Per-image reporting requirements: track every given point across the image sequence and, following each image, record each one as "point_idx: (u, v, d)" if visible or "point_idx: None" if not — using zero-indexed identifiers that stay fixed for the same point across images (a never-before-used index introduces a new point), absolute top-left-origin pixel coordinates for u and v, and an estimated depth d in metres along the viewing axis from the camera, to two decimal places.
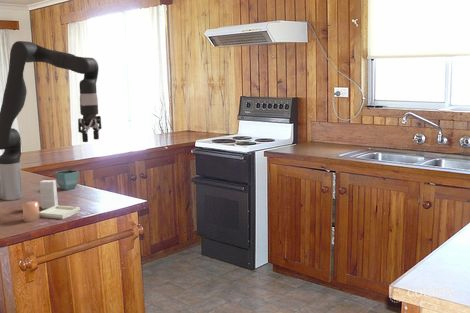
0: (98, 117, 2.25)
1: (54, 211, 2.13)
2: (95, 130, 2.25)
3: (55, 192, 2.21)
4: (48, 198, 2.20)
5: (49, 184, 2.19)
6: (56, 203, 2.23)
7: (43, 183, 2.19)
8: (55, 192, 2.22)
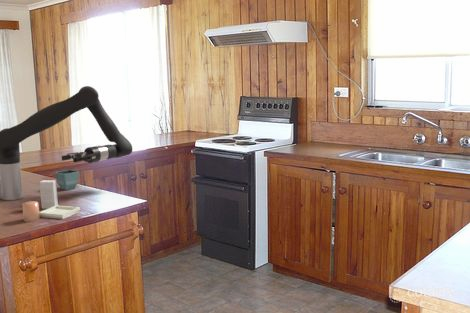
0: None
1: (54, 211, 2.13)
2: (69, 156, 2.34)
3: (55, 192, 2.21)
4: (48, 198, 2.20)
5: (49, 184, 2.19)
6: (56, 203, 2.23)
7: (43, 183, 2.19)
8: (55, 192, 2.22)
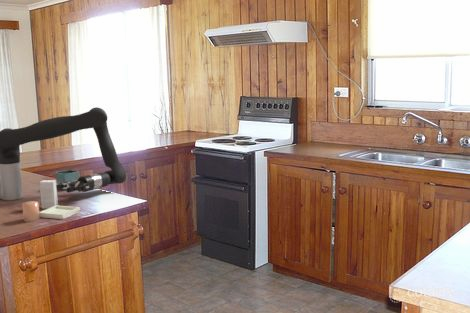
0: None
1: (54, 211, 2.13)
2: (63, 186, 2.33)
3: (55, 192, 2.21)
4: (48, 198, 2.20)
5: (49, 184, 2.19)
6: (56, 203, 2.23)
7: (43, 183, 2.19)
8: (55, 192, 2.22)
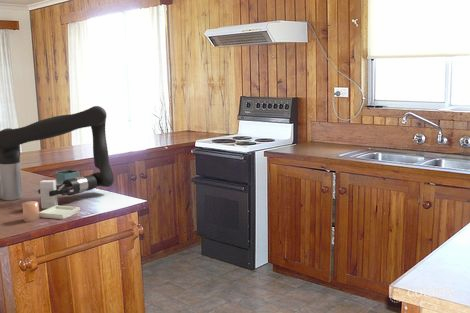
0: None
1: (54, 211, 2.13)
2: None
3: None
4: (48, 198, 2.20)
5: (49, 184, 2.19)
6: (56, 203, 2.23)
7: (43, 183, 2.19)
8: None
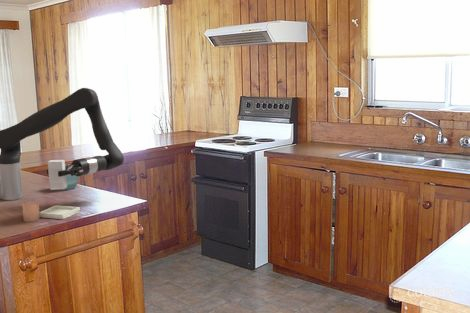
0: None
1: (54, 211, 2.13)
2: None
3: None
4: (57, 179, 2.09)
5: (58, 164, 2.08)
6: (65, 184, 2.12)
7: (51, 163, 2.08)
8: None
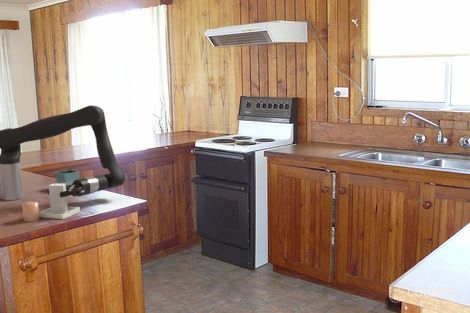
0: None
1: None
2: None
3: None
4: (58, 202, 2.09)
5: (59, 188, 2.08)
6: (66, 208, 2.12)
7: (52, 187, 2.08)
8: None
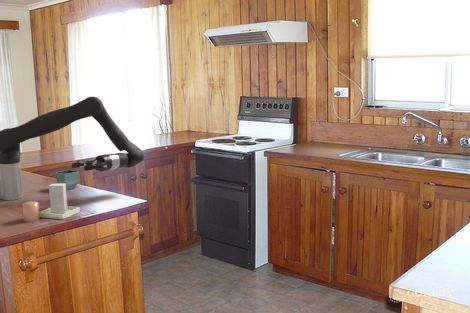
0: None
1: None
2: (80, 164, 2.25)
3: (65, 196, 2.11)
4: (58, 202, 2.09)
5: (59, 188, 2.08)
6: (66, 208, 2.12)
7: (52, 187, 2.08)
8: (65, 196, 2.11)
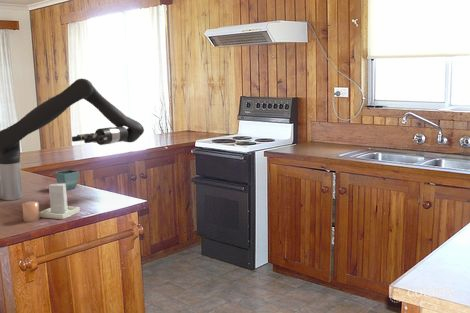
0: None
1: None
2: (80, 138, 2.24)
3: (65, 196, 2.11)
4: (58, 202, 2.09)
5: (59, 188, 2.08)
6: (66, 208, 2.12)
7: (52, 187, 2.08)
8: (65, 196, 2.11)
